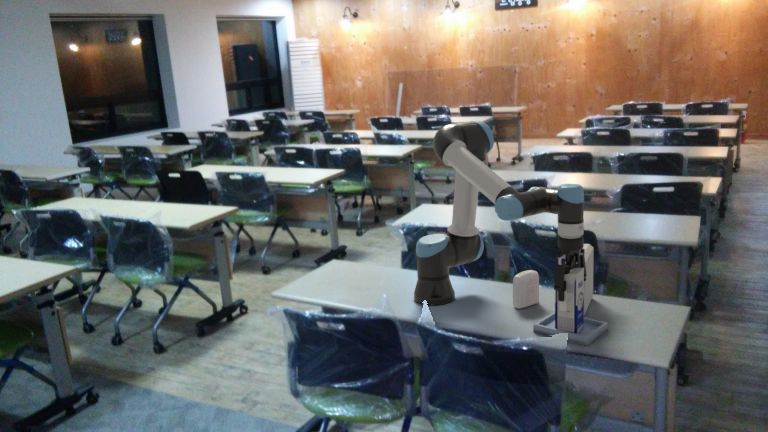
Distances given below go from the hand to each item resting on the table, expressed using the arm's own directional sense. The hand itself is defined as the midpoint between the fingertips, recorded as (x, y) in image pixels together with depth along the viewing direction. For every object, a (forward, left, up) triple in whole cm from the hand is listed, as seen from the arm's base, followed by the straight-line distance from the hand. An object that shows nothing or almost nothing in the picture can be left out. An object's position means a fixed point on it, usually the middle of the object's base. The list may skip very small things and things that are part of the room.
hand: (570, 305), depth 193 cm
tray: (0, 0, -9) cm, 9 cm away
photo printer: (-23, +12, -9) cm, 27 cm away
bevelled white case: (-8, +20, -9) cm, 23 cm away
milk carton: (+1, -2, -8) cm, 8 cm away
